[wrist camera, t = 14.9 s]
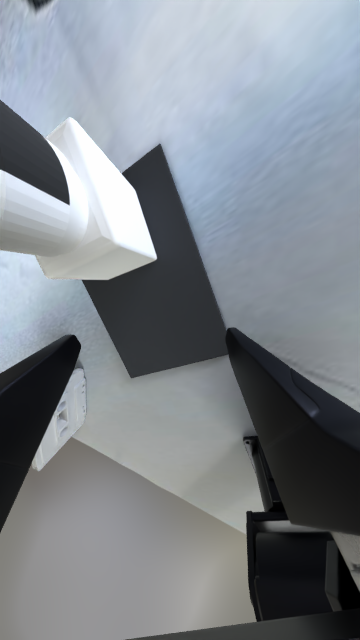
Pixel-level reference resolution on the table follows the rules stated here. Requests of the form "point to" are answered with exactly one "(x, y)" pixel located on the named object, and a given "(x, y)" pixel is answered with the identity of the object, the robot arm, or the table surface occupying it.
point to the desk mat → (161, 285)
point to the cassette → (64, 419)
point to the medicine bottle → (67, 203)
